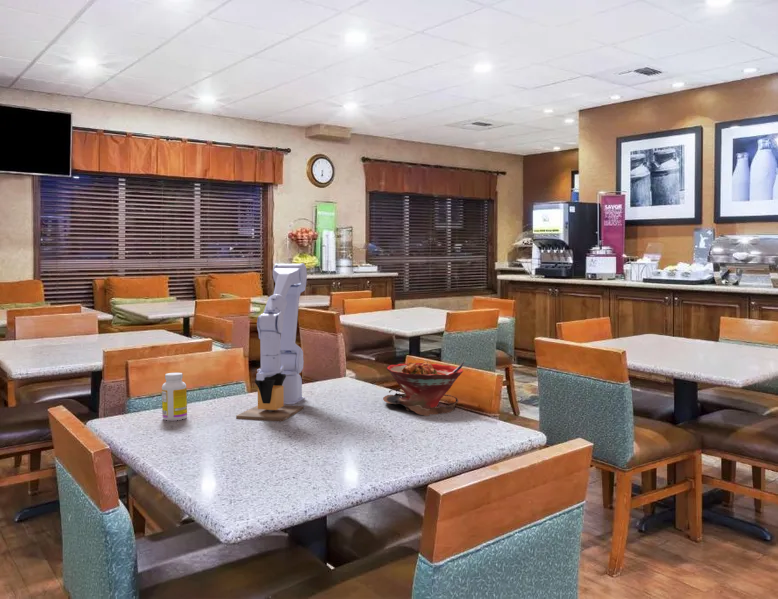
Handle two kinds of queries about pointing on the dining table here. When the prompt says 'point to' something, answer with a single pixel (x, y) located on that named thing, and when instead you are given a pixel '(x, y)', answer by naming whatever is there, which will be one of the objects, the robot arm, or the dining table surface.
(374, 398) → the dining table surface
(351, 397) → the dining table surface
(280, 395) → the orange hollow cube
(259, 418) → the wooden board with peg
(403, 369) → the stew
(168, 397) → the supplement bottle
